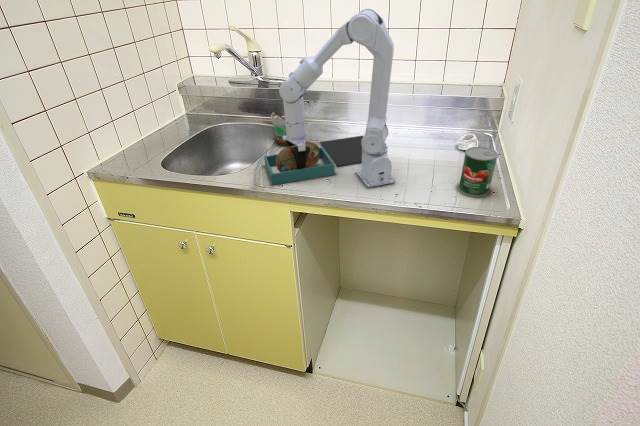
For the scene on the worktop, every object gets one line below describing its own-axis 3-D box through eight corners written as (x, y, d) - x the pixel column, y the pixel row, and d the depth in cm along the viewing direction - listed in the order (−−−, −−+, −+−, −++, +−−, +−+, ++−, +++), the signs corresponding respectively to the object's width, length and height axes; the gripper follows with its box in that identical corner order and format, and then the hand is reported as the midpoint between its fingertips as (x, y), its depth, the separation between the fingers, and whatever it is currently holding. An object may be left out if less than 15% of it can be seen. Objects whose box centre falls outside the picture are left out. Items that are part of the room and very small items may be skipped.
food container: (266, 144, 136) (262, 117, 131) (275, 137, 141) (272, 111, 135) (295, 149, 131) (293, 121, 126) (304, 143, 136) (302, 115, 130)
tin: (281, 179, 114) (278, 153, 109) (275, 175, 116) (272, 150, 111) (321, 164, 121) (320, 140, 116) (315, 161, 123) (314, 137, 118)
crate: (334, 174, 115) (334, 164, 113) (272, 185, 111) (270, 174, 109) (322, 156, 125) (322, 147, 124) (265, 166, 122) (264, 156, 120)
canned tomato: (460, 196, 102) (467, 158, 96) (456, 181, 108) (463, 146, 102) (491, 197, 100) (500, 160, 94) (486, 183, 107) (494, 147, 101)
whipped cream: (478, 156, 123) (482, 143, 120) (457, 153, 124) (460, 139, 121) (477, 144, 129) (481, 131, 126) (456, 141, 130) (460, 128, 127)
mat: (384, 159, 122) (384, 158, 122) (337, 166, 119) (337, 165, 119) (362, 136, 138) (362, 135, 138) (320, 143, 135) (320, 141, 135)
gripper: (277, 114, 114) (281, 155, 122) (286, 131, 103) (290, 176, 110) (299, 111, 116) (302, 152, 123) (311, 128, 104) (313, 172, 112)
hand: (298, 163), depth 117 cm, fingers open, 7 cm apart
